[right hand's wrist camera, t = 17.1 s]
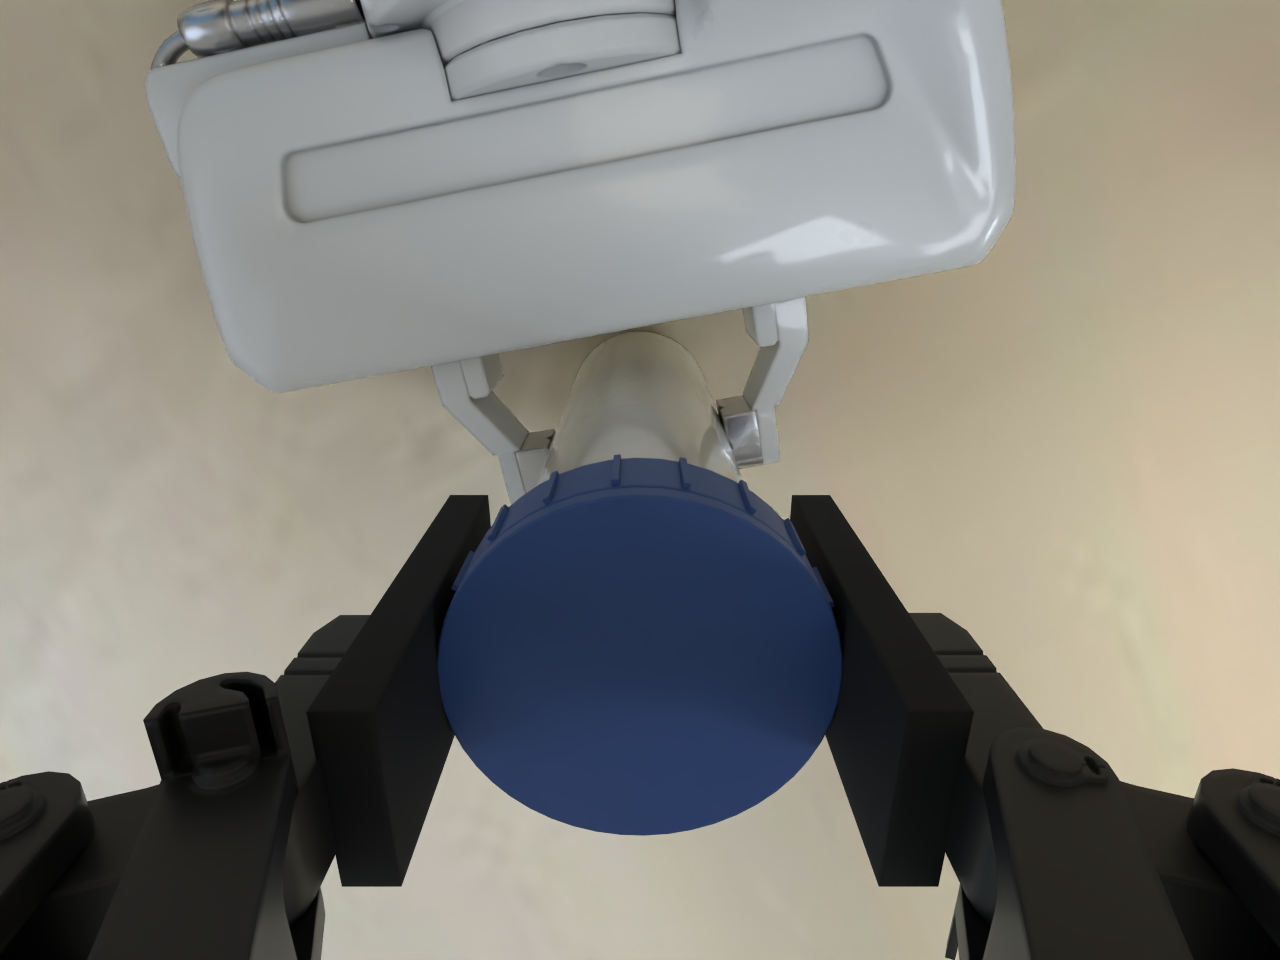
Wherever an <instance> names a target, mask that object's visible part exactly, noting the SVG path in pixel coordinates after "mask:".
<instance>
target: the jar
mask: <svg viewBox="0 0 1280 960" xmlns="http://www.w3.org/2000/svg"><path fill="white" fill-rule="evenodd" d="M618 454H620V455H621V459H625V458H657V459H666V460H672V461H678V462H679V459H680V457H682V458H686V459H687V463H688V464H692V465H695V466H698V467H702V468H705V469H709V470H711V471H714V472H716V473H718V474H720V475H723V476H725V477H727V478H729V479H732V480H734V481H735V482H737V483H738V482H739V481H740V480H743V479H742V476H741V473H740V471H739V468H738V466H737V463H736V460H735V458H734V455H733V452H732V450H731V447H730V445H729V442H728V439H727V437H726V434H725V431H724V429H723V426H722V424H721V421H720V418H719V416H718V413H717V410H716V408H715V405H714V402H713V400H712V397H711V395H710V392H709V389H708V387H707V384H706V381H705V379H704V376H703V374H702V371H701V369H700V367H699V365H698V363H697V362H696V361H695V359H694V358H693V356H692V355H691V354H690V353H689V352H688V351H687V350H686V349H685V348H684V347H683V346H681V345H680V344H679V343H677V342H675V341H674V340H672V339H670V338H668V337H666V336H663V335H660V334H656V333H651V332H628V333H624V334H620V335H617V336H615V337H612V338H610V339H608V340H606V341H605V342H603V343H602V344H600V345H599V346H598V347H596V348H595V349H594V350H593V351H592V352H591V353H590V354H589V355H588V357H587V358H586V359H585V361H584V362H583V364H582V366H581V367H580V370H579V372H578V374H577V377H576V379H575V382H574V385H573V387H572V390H571V392H570V395H569V398H568V400H567V403H566V405H565V408H564V411H563V413H562V416H561V418H560V421H559V424H558V426H557V429H556V431H555V434H554V437H553V439H552V442H551V445H550V447H549V450H548V452H547V455H546V458H545V460H544V463H543V465H542V468H541V471H540V473H539V476H538V478H537V481H536V484H535V486H534V488H535V487H536V486H538V485H539V484H541V483H543V482H545V481H547V480H549V478H550V475H551V473H552V472H554V471H558V473H559V474H561V473H564V472H566V471H569V470H572V469H575V468H578V467H581V466H584V465H588V464H592V463H597V462H602V461H606V460H613V458H614V455H618Z"/></svg>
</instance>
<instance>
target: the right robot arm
mask: <svg viewBox="0 0 1280 960" xmlns="http://www.w3.org/2000/svg"><path fill="white" fill-rule="evenodd" d="M790 521H791V522H792V524H793V526H794V528H795V530H796V532H797V535H798V537H799V539H800V541H801V543H802V545H803V547H804V549H805V551H806V556H807V558H808V561H809V563H810V565H811V567H812V568H814V567H817V569H818V571H819V573H820V575H821V577H822V579H823V582H824V584H825V586H826V588H827V590H828V592H829V594H830V596H831V598H832V600H833V602H834V605H835V607H832V611H833V614H834V617H835V620H836V623H837V627H838V630H839V633H840V640H841V647H842V654H843V665H842V677H841V686H840V693H839V700H838V703H837V706H836V709H835V712H834V715H833V718H832V721H831V723H830V725H829V727H828V729H827V731H826V733H825V735H826V738H827V741H828V744H829V746H830V749H831V752H832V755H833V758H834V761H835V763H836V766H837V769H838V772H839V775H840V778H841V780H842V783H843V786H844V789H845V792H846V795H847V797H848V800H849V803H850V806H851V809H852V812H853V814H854V817H855V820H856V823H857V826H858V829H859V831H860V834H861V837H862V840H863V843H864V846H865V848H866V851H867V854H868V857H869V860H870V863H871V865H872V868H873V871H874V874H875V877H876V880H877V882H878V885H879V886H938V885H939V880H940V875H941V870H942V866H943V861H944V856H945V852H946V854H947V856H948V859H949V861H950V863H951V865H952V867H953V869H954V871H955V873H956V875H957V878H958V880H959V882H960V888H959V892H958V897H957V901H956V906H955V910H954V915H953V919H952V924H951V928H950V933H949V937H948V942H947V949H946V955H945V958H949V959H953V960H955V957H956V953H957V948H958V950H959V959H960V960H1280V780H1279V779H1275V778H1273V777H1270V776H1267V775H1264V774H1261V773H1256V772H1250V771H1244V770H1238V769H1224V770H1214V771H1211V772H1210V773H1209V774H1207V775H1206V776H1205V777H1203V778H1202V779H1201V781H1200V784H1199V787H1198V790H1197V792H1196V795H1195V798H1194V799H1193V798H1189V797H1184V796H1180V795H1175V794H1171V793H1166V792H1162V791H1157V790H1153V789H1148V788H1144V787H1140V786H1135V785H1132V784H1128V783H1125V782H1121V781H1119V779H1118V777H1117V776H1116V774H1115V773H1114V772H1113V770H1112V769H1111V767H1110V766H1109V764H1108V763H1107V762H1106V761H1105V760H1104V759H1102V758H1101V757H1100V756H1099V755H1097V754H1096V753H1095V752H1094V751H1092V750H1091V749H1090V748H1089V747H1087V746H1085V745H1083V744H1081V743H1079V742H1077V741H1075V740H1073V739H1071V738H1069V737H1067V736H1065V735H1062V734H1058V733H1055V732H1052V731H1048V730H1045V729H1043V728H1042V726H1041V725H1040V724H1039V723H1038V721H1037V720H1036V719H1035V717H1034V716H1033V715H1032V714H1031V712H1030V711H1029V710H1028V708H1027V707H1026V706H1025V705H1024V703H1023V702H1022V701H1021V699H1020V698H1019V697H1018V696H1017V694H1016V693H1015V692H1014V690H1013V689H1012V688H1011V687H1010V685H1009V684H1008V683H1007V681H1006V680H1005V679H1004V678H1003V676H1002V675H1001V674H1000V673H997V672H996V667H995V666H994V665H993V663H992V662H991V661H990V660H989V658H988V657H987V656H986V655H983V651H982V649H981V648H980V647H979V645H978V644H977V643H976V642H975V640H974V639H973V638H972V636H971V635H970V634H969V633H968V631H967V630H965V629H964V628H962V627H961V626H959V625H958V624H956V623H955V622H953V621H952V620H950V619H949V618H947V617H946V616H944V615H943V614H941V613H908V612H907V610H906V609H905V607H904V606H903V604H902V603H901V601H900V600H899V598H898V597H897V595H896V594H895V592H894V591H893V589H892V588H891V586H890V585H889V583H888V582H887V580H886V579H885V577H884V576H883V574H882V573H881V571H880V570H879V568H878V567H877V565H876V564H875V562H874V561H873V559H872V558H871V556H870V555H869V553H868V552H867V550H866V549H865V547H864V546H863V544H862V543H861V541H860V540H859V538H858V537H857V535H856V534H855V532H854V531H853V529H852V528H851V526H850V525H849V523H848V522H847V520H846V519H845V517H844V516H843V514H842V513H841V511H840V510H839V508H838V507H837V505H836V504H835V502H834V501H833V499H832V498H831V496H830V495H792V503H791V515H790ZM490 527H491V525H490V513H489V500H488V495H450V496H449V498H448V499H447V501H446V502H445V504H444V505H443V507H442V509H441V510H440V512H439V513H438V515H437V516H436V518H435V519H434V521H433V522H432V524H431V525H430V527H429V528H428V530H427V531H426V533H425V534H424V536H423V537H422V539H421V540H420V542H419V543H418V545H417V546H416V548H415V549H414V551H413V552H412V554H411V555H410V557H409V558H408V560H407V561H406V563H405V564H404V566H403V567H402V569H401V570H400V572H399V573H398V575H397V576H396V578H395V579H394V581H393V582H392V584H391V585H390V587H389V588H388V590H387V591H386V593H385V594H384V596H383V597H382V599H381V600H380V602H379V603H378V605H377V606H376V608H375V609H374V611H373V612H372V614H371V615H340V616H338V617H337V618H335V619H334V620H332V621H331V622H329V623H328V624H326V625H325V626H323V627H322V628H320V629H319V630H317V631H316V632H314V633H313V634H312V636H311V637H310V638H309V640H308V641H307V642H306V644H305V645H304V646H303V647H302V649H301V650H300V651H299V653H298V657H297V658H294V659H293V660H292V662H291V663H290V664H289V666H288V667H287V668H286V669H285V673H284V675H281V676H280V677H279V678H278V680H277V681H276V682H275V683H274V682H273V681H271V680H270V679H269V678H268V677H266V676H265V675H260V674H255V673H250V672H238V673H224V674H220V675H216V676H213V677H209V678H205V679H201V680H198V681H196V682H194V683H192V684H189V685H187V686H185V687H183V688H181V689H178V690H176V691H174V692H173V693H172V694H170V695H169V696H167V697H166V698H165V699H163V700H162V701H160V702H159V703H157V704H156V705H155V706H154V707H153V709H152V710H151V711H150V712H149V714H148V715H147V716H146V717H145V719H144V720H143V721H144V724H145V728H146V731H147V734H148V737H149V741H150V744H151V747H152V750H153V754H154V757H155V760H156V763H157V767H158V770H159V773H160V776H161V782H160V784H159V785H156V786H152V787H149V788H145V789H141V790H136V791H132V792H127V793H123V794H118V795H114V796H110V797H105V798H101V799H96V800H92V801H87V800H86V797H85V794H84V791H83V789H82V786H81V783H80V782H79V781H78V780H77V779H75V778H74V777H73V776H71V775H70V774H67V773H58V772H43V773H37V774H31V775H25V776H21V777H18V778H15V779H11V780H9V781H7V782H2V783H0V960H321V952H322V942H323V932H324V922H325V909H324V902H323V897H322V892H321V888H320V886H321V884H322V882H323V880H324V877H325V875H326V873H327V871H328V869H329V867H330V865H331V863H332V861H333V858H334V856H335V855H336V860H337V864H338V869H339V874H340V879H341V884H342V886H402V883H403V880H404V877H405V875H406V872H407V869H408V866H409V863H410V860H411V858H412V855H413V852H414V849H415V846H416V843H417V841H418V838H419V835H420V832H421V829H422V826H423V824H424V821H425V818H426V815H427V812H428V809H429V807H430V804H431V801H432V798H433V795H434V792H435V790H436V787H437V784H438V781H439V778H440V775H441V773H442V770H443V767H444V764H445V761H446V758H447V756H448V753H449V750H450V747H451V744H452V741H453V739H454V736H455V734H454V732H453V730H452V729H451V726H450V723H449V721H448V718H447V716H446V713H445V711H444V708H443V704H442V699H441V692H440V684H439V675H438V666H437V654H438V643H439V638H440V634H441V630H442V625H443V621H444V618H445V616H446V613H447V611H448V608H449V606H450V604H451V601H452V599H453V597H454V595H455V593H456V591H455V590H452V586H453V584H454V582H455V580H456V578H457V576H458V574H459V572H460V570H461V568H462V566H463V564H464V562H465V560H466V558H467V556H468V554H469V552H470V551H472V552H475V551H476V549H477V548H478V546H479V544H480V543H481V541H482V539H483V538H484V536H485V534H486V533H487V531H488V530H489V529H490Z"/></svg>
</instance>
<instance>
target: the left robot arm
mask: <svg viewBox="0 0 1280 960" xmlns="http://www.w3.org/2000/svg"><path fill="white" fill-rule="evenodd" d="M177 24H178V29H179V30H177V31H176V32H174V33H173V34H172V35H171V36H169V37H168V38H167V39H166V40H165V41H164V42H163V43H162V44H161V46H160V47H159V49H158V50H157V52H156V54H155V56H154V59H153V61H152V65H151V69H150V71H149V72H148V73H147V75H146V78H145V89H146V96H147V101H148V105H149V108H150V111H151V114H152V116H153V119H154V122H155V124H156V127H157V130H158V132H159V135H160V137H161V140H162V143H163V145H164V148H165V151H166V153H167V156H168V158H169V161H170V163H171V165H172V167H173V169H174V170H175V172H176V174H177V175H178V177H179V178H180V179H181V184H182V189H183V194H184V199H185V204H186V209H187V214H188V218H189V223H190V227H191V232H192V236H193V241H194V245H195V249H196V253H197V257H198V261H199V264H200V268H201V272H202V276H203V280H204V283H205V287H206V290H207V294H208V297H209V301H210V304H211V307H212V311H213V314H214V317H215V320H216V323H217V326H218V329H219V333H220V336H221V338H222V341H223V343H224V346H225V349H226V351H227V353H228V355H229V357H230V359H231V361H232V362H233V363H234V364H235V365H236V366H237V367H238V368H240V369H241V370H242V371H243V372H245V373H246V374H247V375H248V376H250V377H251V378H252V379H254V380H255V381H256V382H257V383H259V384H260V385H262V386H263V387H265V388H266V389H267V390H269V391H271V392H274V393H284V392H290V391H296V390H301V389H307V388H312V387H318V386H323V385H329V384H334V383H339V382H345V381H350V380H356V379H361V378H367V377H372V376H378V375H383V374H388V373H394V372H399V371H405V370H410V369H416V368H421V367H426V366H431V367H432V371H433V374H434V378H435V381H436V385H437V388H438V392H439V395H440V399H441V402H442V406H444V407H445V408H446V409H447V410H448V411H449V412H450V413H451V414H452V415H453V416H454V417H455V418H456V419H457V420H458V421H459V422H460V423H461V424H462V425H463V426H464V427H465V428H466V429H467V430H468V431H469V432H470V433H471V434H472V435H473V436H474V437H475V438H476V439H477V440H478V441H479V442H480V443H481V444H482V445H483V446H484V447H485V448H486V449H487V450H488V451H489V452H490V453H491V454H492V455H498V458H499V461H500V465H501V469H502V473H503V476H504V480H505V484H506V487H507V491H508V495H509V498H510V502H511V503H512V504H513V503H514V502H515V501H517V500H518V499H519V498H520V497H521V496H523V495H524V494H526V493H527V492H529V491H530V490H532V489H533V488H534V486H535V484H536V481H537V478H538V476H539V473H540V471H541V468H542V465H543V463H544V460H545V458H546V455H547V452H548V450H549V447H550V445H551V442H552V439H553V437H554V434H555V429H551V430H545V431H538V432H532V433H528V432H529V431H528V430H527V429H526V428H525V427H524V426H523V425H522V424H521V423H520V421H519V420H518V419H517V418H516V417H515V416H514V415H513V414H512V412H511V411H510V410H509V409H508V408H507V407H506V406H505V405H504V404H503V402H502V401H501V400H500V399H499V398H498V397H497V396H496V395H495V393H494V392H493V391H492V390H493V389H494V388H495V386H496V385H497V384H498V383H499V381H500V380H501V379H502V377H503V376H504V375H503V370H502V366H501V362H500V358H499V354H498V353H503V352H508V351H513V350H519V349H524V348H530V347H535V346H541V345H546V344H552V343H557V342H562V341H568V340H573V339H579V338H584V337H590V336H595V335H600V334H606V333H611V332H617V331H622V330H628V329H633V328H639V327H644V326H649V325H655V324H660V323H666V322H671V321H677V320H682V319H687V318H693V317H698V316H704V315H709V314H715V313H720V312H726V311H731V310H736V309H742V308H743V313H744V320H745V327H746V332H747V333H748V334H749V335H750V337H751V338H752V339H753V340H754V341H755V342H756V344H758V345H759V346H761V348H760V351H759V353H758V356H757V358H756V361H755V363H754V366H753V368H752V371H751V373H750V376H749V378H748V381H747V383H746V386H745V388H744V391H743V393H742V394H743V395H742V396H737V397H732V398H727V399H722V400H717V401H716V402H717V409H718V416H719V418H720V421H721V424H722V426H723V429H724V431H725V434H726V437H727V439H728V442H729V445H730V447H731V450H732V452H733V455H734V458H735V460H736V463H737V466H738V468H739V469H742V468H748V467H755V466H761V465H766V464H772V463H778V462H779V460H780V451H779V443H778V434H777V426H776V417H775V409H774V406H779V404H780V402H781V400H782V397H783V395H784V393H785V391H786V389H787V387H788V384H789V382H790V380H791V378H792V376H793V374H794V371H795V369H796V367H797V365H798V363H799V361H800V358H801V356H802V354H803V352H804V350H805V348H806V345H807V343H808V341H809V335H808V324H807V313H806V302H805V297H807V296H813V295H818V294H823V293H829V292H834V291H840V290H845V289H851V288H856V287H861V286H867V285H872V284H878V283H883V282H889V281H894V280H900V279H905V278H910V277H916V276H921V275H927V274H932V273H938V272H943V271H948V270H954V269H959V268H964V267H970V266H974V265H976V264H978V263H980V262H981V261H982V260H983V259H984V258H985V257H986V255H987V254H988V253H989V251H990V250H991V249H992V247H993V246H994V244H995V243H996V241H997V240H998V238H999V236H1000V235H1001V233H1002V232H1003V230H1004V229H1005V227H1006V225H1007V224H1008V222H1009V220H1010V218H1011V216H1012V213H1013V208H1014V201H1015V185H1016V152H1015V123H1014V106H1013V92H1012V81H1011V69H1010V59H1009V51H1008V42H1007V34H1006V26H1005V19H1004V12H1003V5H1002V0H237V1H234V0H211V1H206V2H203V3H200V4H197V5H194V6H192V7H190V8H188V9H186V10H185V11H183V12H182V13H180V14H179V15H178V17H177ZM187 50H190V51H191V52H192V53H193V54H194V55H196V56H197V57H199V58H198V59H194V60H189V61H185V62H180V63H176V61H177V60H178V59H179V57H180V56H181V55H182V54H183V53H184V52H186V51H187Z"/></svg>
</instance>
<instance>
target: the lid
mask: <svg viewBox="0 0 1280 960" xmlns="http://www.w3.org/2000/svg"><path fill="white" fill-rule="evenodd" d="M452 590H455V591H456V593H455V595H454V597H453V599H452V601H451V604H450V606H449V608H448V611H447V613H446V616H445V618H444V621H443V625H442V630H441V634H440V638H439V643H438V654H437V666H438V675H439V684H440V692H441V699H442V704H443V708H444V711H445V713H446V716H447V718H448V721H449V723H450V726H451V729H452V730H453V732H454V734H455V736H456V737H457V739H458V741H459V743H460V744H461V746H462V748H463V749H464V751H465V752H466V753H467V755H468V756H469V757H470V758H471V760H472V761H473V762H474V764H475V765H476V766H477V767H478V768H479V769H480V770H481V771H482V772H483V773H484V774H485V775H486V776H487V777H488V778H489V779H490V780H491V781H492V782H493V783H494V784H495V785H497V786H498V787H499V788H500V789H502V790H503V791H504V792H506V793H507V794H508V795H509V796H511V797H512V798H514V799H516V800H517V801H519V802H521V803H522V804H524V805H525V806H527V807H529V808H530V809H532V810H535V811H537V812H539V813H541V814H543V815H545V816H547V817H549V818H552V819H555V820H558V821H560V822H563V823H566V824H569V825H572V826H575V827H580V828H584V829H588V830H592V831H597V832H604V833H612V834H619V835H657V834H670V833H676V832H682V831H688V830H693V829H696V828H700V827H704V826H707V825H711V824H715V823H717V822H720V821H722V820H725V819H727V818H730V817H733V816H735V815H737V814H739V813H741V812H743V811H745V810H747V809H749V808H751V807H753V806H755V805H757V804H758V803H760V802H761V801H763V800H764V799H766V798H767V797H769V796H770V795H772V794H773V793H775V792H776V791H777V790H778V789H780V788H781V787H782V786H783V785H784V784H785V783H787V782H788V781H789V780H790V779H791V778H792V777H794V776H795V774H796V773H797V772H798V771H799V770H800V769H801V768H802V767H803V766H804V764H805V763H806V762H807V761H808V760H809V759H810V757H811V756H812V754H813V753H814V752H815V750H816V749H817V747H818V746H819V744H820V743H821V741H822V739H823V737H824V735H825V733H826V731H827V729H828V727H829V725H830V723H831V721H832V718H833V715H834V712H835V709H836V706H837V703H838V700H839V693H840V686H841V677H842V665H843V654H842V647H841V640H840V633H839V630H838V627H837V623H836V620H835V617H834V614H833V611H832V607H835V605H834V602H833V600H832V598H831V596H830V594H829V592H828V590H827V588H826V586H825V584H824V582H823V579H822V577H821V575H820V573H819V571H818V569H817V567H814V568H812V567H811V565H810V563H809V561H808V558H807V556H806V551H805V549H804V547H803V545H802V543H801V541H800V539H799V537H798V535H797V532H796V530H795V528H794V526H793V524H792V522H791V521H790V520H789V518H787V519H786V520H783V519H782V518H781V517H780V516H779V515H778V514H777V513H776V512H775V511H774V510H773V509H772V507H770V506H769V505H768V504H767V503H765V502H764V501H763V500H762V499H761V498H759V497H758V496H757V495H756V494H754V493H753V492H752V491H750V490H749V489H748V486H747V484H746V482H744V481H743V480H740V481H739V482H738V483H737V482H735V481H734V480H732V479H729V478H727V477H725V476H723V475H720V474H718V473H716V472H714V471H711V470H709V469H705V468H702V467H698V466H695V465H692V464H688V463H687V459H686V458H682V457H680V459H679V462H678V461H672V460H666V459H657V458H625V459H621V455H620V454H618V455H614V458H613V460H606V461H602V462H597V463H592V464H588V465H584V466H581V467H578V468H575V469H572V470H569V471H566V472H564V473H561V474H559V473H558V471H554V472H552V473H551V475H550V478H549V480H547V481H545V482H543V483H541V484H539V485H538V486H536V487H535V488H533V489H532V490H530V491H529V492H527V493H526V494H524V495H523V496H521V497H520V498H519V499H518V500H517V501H515V502H514V503H513V504H512V505H511V506H510V507H507V506H506V505H504V506H503V507H502V508H501V509H500V511H499V513H498V515H497V517H496V520H495V522H494V524H493V525H492V526H491V527H490V529H489V530H488V531H487V533H486V534H485V536H484V538H483V539H482V541H481V543H480V544H479V546H478V548H477V549H476V551H475V552H472V551H470V552H469V554H468V556H467V558H466V560H465V562H464V564H463V566H462V568H461V570H460V572H459V574H458V576H457V578H456V580H455V582H454V584H453V586H452Z"/></svg>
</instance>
